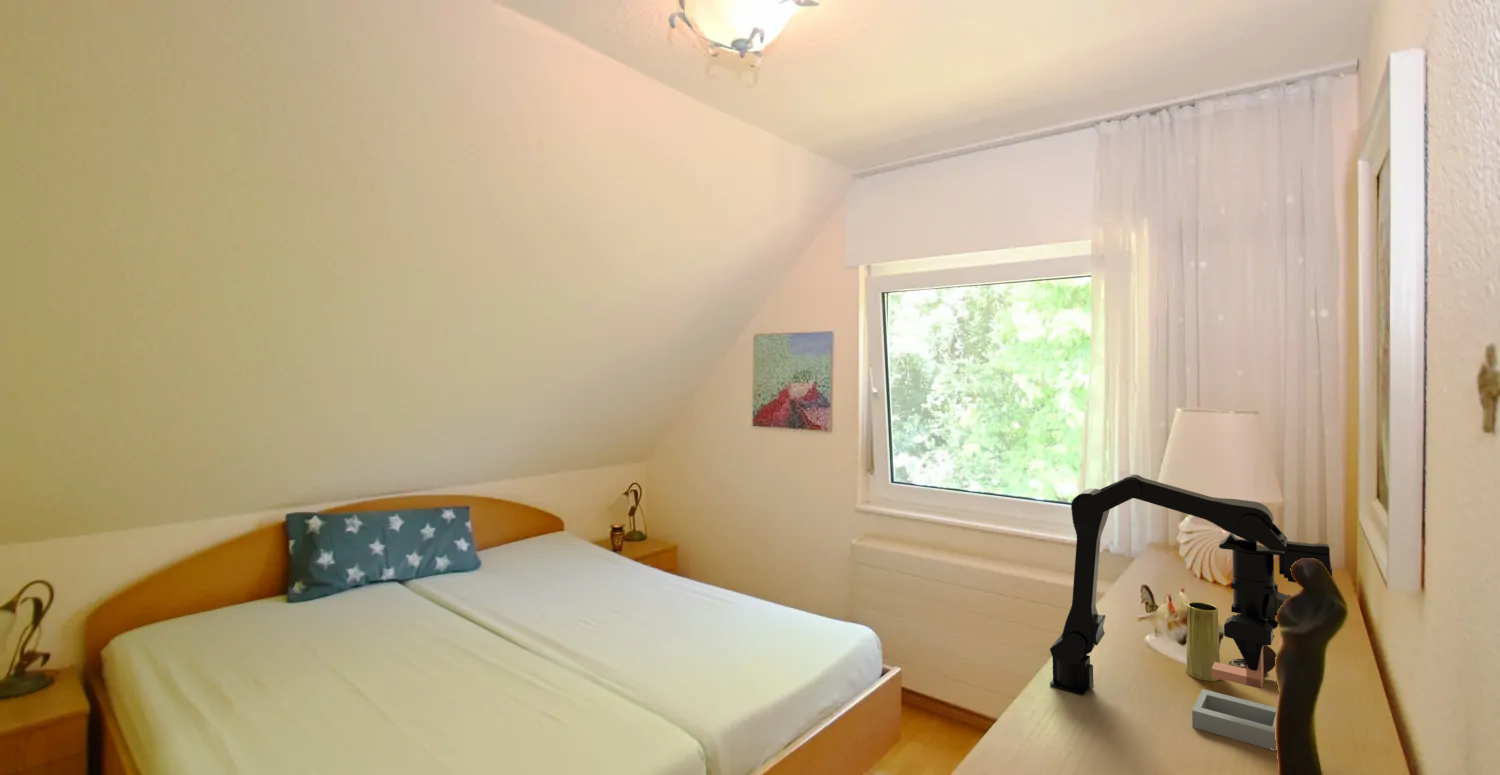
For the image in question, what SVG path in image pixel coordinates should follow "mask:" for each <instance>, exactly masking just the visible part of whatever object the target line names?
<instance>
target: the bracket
mask: <svg viewBox="0 0 1500 775" xmlns="http://www.w3.org/2000/svg"><path fill="white" fill-rule="evenodd" d="M1264 675H1265V674H1263V647H1262V652H1261V656H1260V661H1259V665H1258V669H1257V671H1254V670H1250V669H1249V668H1248V666H1247V664H1246V669H1245V668H1240V667H1236V666H1231V665H1229V664H1228V665H1227V663H1222V662H1220V663H1218V662H1214V665H1213V667H1212V677H1214V678H1218V679H1221V680H1222V681H1223V680H1224V681H1227V682H1232V683H1235V684H1240V685H1244V686H1248V687H1253V688H1256V689H1259V690H1260V689H1262V688H1263V684H1264V682H1265V680H1264V678H1265V677H1264Z"/></svg>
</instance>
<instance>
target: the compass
mask: <svg viewBox="0 0 1500 775" xmlns="http://www.w3.org/2000/svg"><path fill="white" fill-rule="evenodd" d="M1276 656H1277V654H1276V652H1275V650H1274V649H1273V648H1271V647H1270V645H1264V648H1263V674H1264V675H1266V674H1267V673H1269V672H1271V671H1272V670H1273V669H1274V668H1275V667H1276V665H1275V657H1276ZM1226 664H1227V663H1226ZM1227 665H1231V666H1236V667H1240V668H1245V669H1246V662H1245V660H1244V658H1243V657H1242V658H1240V657H1238V658H1234V659H1232V660H1230V661H1229V662H1228V664H1227Z"/></svg>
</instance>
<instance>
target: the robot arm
mask: <svg viewBox="0 0 1500 775" xmlns="http://www.w3.org/2000/svg"><path fill="white" fill-rule="evenodd" d="M1132 499H1135V500H1140V501H1142V502H1146V503H1150V504H1151V505H1156V506H1160V507H1162V508H1166V509H1169V510H1173V511H1176V512H1180V513H1181V514H1182V513H1183V514H1186V515H1190V516H1193V517H1196V518H1199V519H1202V520H1206V521H1207V522H1210V523H1212V524H1214V525H1216V526H1217V527H1219V528H1220V529H1222V530H1224V531H1226V532H1228V536H1227V537H1225V538H1224V539H1222V540H1220V542H1219V545H1218V547H1219V549H1221V550H1230V551H1232V580H1231V582H1230V589H1231V590H1232V599H1233V600H1232V604H1231V606H1230V607H1231V609H1230V610H1231V611H1230V612H1231V613H1234V614H1233V615H1230V617H1227V619H1226V620H1225V622H1224V623H1223V636H1224V637H1226V638H1229V639H1232V640H1233V642H1234V643H1235V645H1236V646H1237V649H1238V650H1239V652H1240V654H1241V657H1242V659H1243V658H1244V660H1245V662H1246V664H1247V666H1248V668H1249V669H1250V670H1254V671H1257V669H1258V665H1259V661H1260V656H1261V652H1262V647H1263V648H1264V645H1267V646H1272V643H1273V641H1274V638H1275V635H1274V630H1275V629H1277V628H1278V626H1279V623H1278V622H1279V621H1278V620H1276V619H1277V617H1276V615H1277V611H1278V609H1279V608H1280V606H1281V605H1282V604H1283V602H1284V601H1285V600H1286V599H1288V598H1290V597H1292V596H1294V595H1296V594H1298V593H1300V592H1301V591H1298V592H1296V593H1294V594H1293V595H1291V594H1289V593H1288V594H1285V593H1282V592H1280V591H1279V584H1277V582H1276V581H1275V556H1278V568H1279V575H1281V576H1283V578H1284V579H1287V582H1288V583H1295V584H1298V583H1297V582H1296V581H1295V580H1294V579H1293V577H1292V575H1291V571H1290V568H1291V565H1292V564H1293V563H1294V562H1295V561H1297V560H1299V559H1301V558H1315V559H1318V560H1319V561H1321V562H1322V563H1323V564H1324V566H1325V567H1326V568H1327V570H1328V571H1329V573H1330V575H1331V576H1332V577H1333V569H1332V562H1331V556H1330V552H1331V551H1330V545H1329V544H1327V543H1317V542H1316V543H1308V542H1298V541H1289V540H1288V538H1287V536H1286V535H1285V533H1283V532H1282V531H1281V529H1280V528H1278V526H1277V525H1276V524H1275V522H1274V520H1275V519H1274V516H1273V512H1272V511H1271V509H1270V508H1268V507H1267V506H1266V505H1265V504H1263V503H1261V502H1258V501H1251V500H1244V499H1239V498H1237V499H1236V498H1225V497H1224V498H1223V497H1213V496H1208V495H1207V494H1203V493H1199V492H1195V491H1191V490H1187V489H1185V488H1181V487H1178V486H1173V485H1169V484H1167V483H1163V482H1160V481H1156V480H1152V479H1148V478H1145V477H1143V476H1142V475H1139V474H1129V475H1127V476H1125V477H1124V478H1122V479H1120V480H1118V481H1116V482H1113V483H1111V484H1109V485H1107V486H1104V487H1103V488H1100V489H1099V488H1088V489H1085V490H1084V491H1083V492H1081V493H1079V494H1078V495H1077V496H1075V497H1074V498H1073V499H1072V501H1071V505H1070V506H1071V507H1070V508H1071V518H1072V525H1073V527H1074V531H1075V535H1076V547H1075V558H1074V571H1073V572H1074V573H1073V586H1072V601H1071V606H1070V609H1069V612H1068V615H1067V618H1066V620H1065V624H1064V627H1063V631H1062V633H1061V634H1060V635H1059V637H1058V638H1057V640H1056V641H1055V642H1054V643H1053V644H1052V646H1051V647H1050V648H1049V652H1050V654H1051V656H1052V680H1051V681H1050V682H1049V685H1050V686H1051V687H1053V688H1057V689H1060V690H1064V691H1067V692H1070V693H1071V692H1072V693H1074V694H1078V695H1082V696H1085V695H1086V694H1087V692H1088V691H1089V690H1090V689H1092V687H1093V686H1094V665H1093V664H1091V655H1089V654H1091V653H1092V652H1093V650H1094V649H1095V647H1096V646H1098V645H1099V643H1100V642H1101V640H1102V639H1103V637H1104V636H1105V634H1106V632H1105V630H1104V623H1105V620H1106V618H1107V617H1106V615H1105V614H1099V613H1098V609H1097V606H1096V603H1097V589H1098V588H1097V587H1098V576H1099V561H1100V550H1101V549H1100V547H1101V538H1102V534H1103V531H1104V529H1105V526H1106V523H1107V519H1108V517H1109V514H1110V511H1111V509H1113V508H1115V507H1118V506H1120V505H1122V504H1124V503H1126V502H1128V501H1130V500H1132ZM1237 537H1239V538H1237ZM1258 543H1259V544H1258ZM1277 621H1278V622H1277Z"/></svg>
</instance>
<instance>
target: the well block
mask: <svg viewBox="0 0 1500 775" xmlns="http://www.w3.org/2000/svg"><path fill="white" fill-rule="evenodd" d="M1277 708H1278V707H1274V706H1271V705H1267V704H1264V703H1263V704H1262V703H1259V702H1256V701H1252V700H1248V699H1244V698H1239V697H1235V696H1232V695H1228V694H1223V693H1219V692H1215V691H1212V690H1209V689H1208V690H1207V689H1204V688H1202V689H1201V691H1200V693H1199V696H1198V697H1197V699H1196V702H1195V704H1194V705H1193V708H1192V710H1191V711H1192V712H1191V713H1192V715H1191V716H1192V717H1191V719H1192V720H1191V721H1192V726H1191V727H1192V728H1195V729H1198V730H1202V731H1206V732H1209V733H1212V734H1216V735H1219V736H1223V737H1226V738H1230V739H1233V740H1236V741H1240V742H1243V743H1246V744H1249V745H1254V746H1258V747H1260V748H1264V749H1267V750H1271V748H1272V749H1274V750H1273V751H1274V752H1277V751H1276V740H1275V723H1276V710H1277Z"/></svg>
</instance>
